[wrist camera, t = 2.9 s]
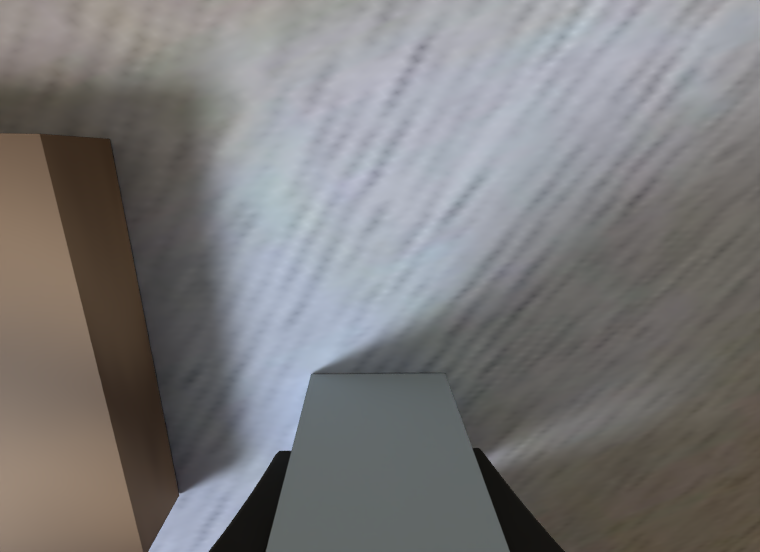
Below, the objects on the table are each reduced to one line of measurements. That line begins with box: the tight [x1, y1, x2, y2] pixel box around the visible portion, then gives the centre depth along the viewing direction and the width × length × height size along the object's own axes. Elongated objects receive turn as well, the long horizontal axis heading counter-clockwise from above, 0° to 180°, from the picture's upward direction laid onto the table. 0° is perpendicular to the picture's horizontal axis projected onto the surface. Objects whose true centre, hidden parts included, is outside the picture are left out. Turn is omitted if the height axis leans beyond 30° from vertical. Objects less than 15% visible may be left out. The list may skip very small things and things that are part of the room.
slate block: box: [266, 373, 510, 552], centre depth 8 cm, size 4×4×7 cm
